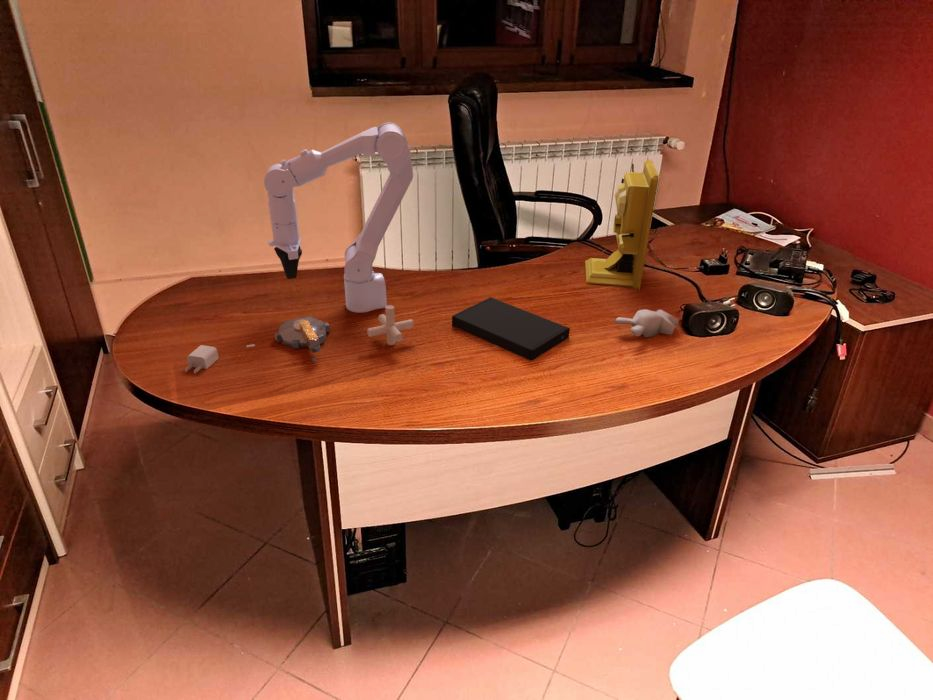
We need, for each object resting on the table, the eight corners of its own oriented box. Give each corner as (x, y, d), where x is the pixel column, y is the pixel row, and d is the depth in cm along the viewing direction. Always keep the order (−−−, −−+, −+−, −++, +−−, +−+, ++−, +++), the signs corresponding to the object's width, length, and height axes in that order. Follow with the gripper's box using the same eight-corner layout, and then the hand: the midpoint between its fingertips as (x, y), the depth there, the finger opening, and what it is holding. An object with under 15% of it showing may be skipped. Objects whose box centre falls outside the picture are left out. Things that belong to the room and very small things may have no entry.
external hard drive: (490, 307, 161) (491, 296, 159) (568, 339, 148) (570, 327, 146) (451, 327, 151) (452, 315, 150) (531, 362, 138) (532, 350, 137)
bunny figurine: (689, 318, 148) (641, 325, 141) (683, 338, 151) (636, 346, 143) (660, 302, 156) (613, 308, 148) (654, 321, 158) (608, 328, 151)
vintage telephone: (584, 250, 195) (596, 148, 179) (631, 253, 193) (648, 151, 178) (586, 294, 168) (601, 179, 153) (641, 298, 166) (661, 182, 151)
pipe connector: (378, 363, 136) (375, 321, 131) (361, 342, 143) (359, 302, 138) (421, 353, 140) (421, 312, 135) (403, 333, 147) (402, 293, 142)
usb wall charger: (219, 363, 134) (216, 347, 132) (200, 381, 129) (196, 364, 127) (202, 361, 135) (199, 344, 133) (182, 378, 129) (178, 361, 127)
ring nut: (271, 330, 144) (268, 312, 142) (322, 320, 149) (320, 303, 147) (289, 366, 131) (287, 347, 129) (344, 354, 136) (343, 335, 134)
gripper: (260, 213, 147) (268, 268, 154) (271, 233, 136) (279, 292, 143) (292, 209, 150) (298, 264, 157) (305, 229, 138) (311, 287, 145)
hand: (291, 277), depth 150 cm, fingers closed
